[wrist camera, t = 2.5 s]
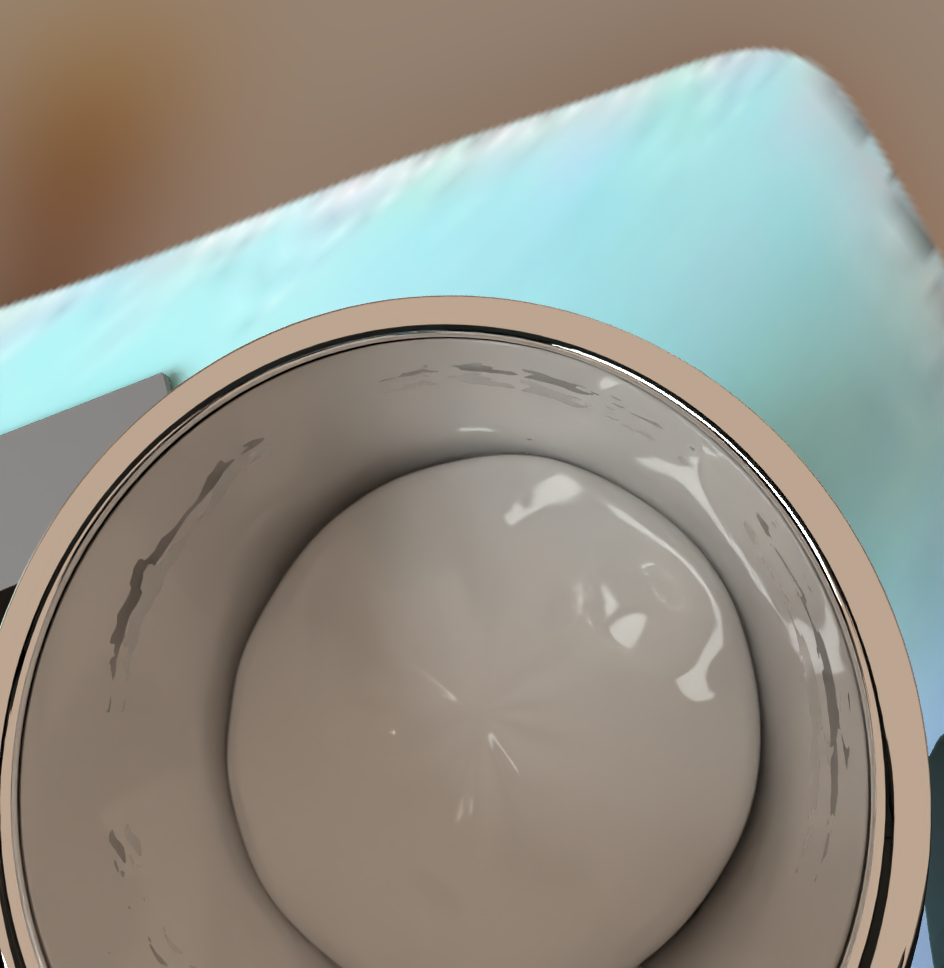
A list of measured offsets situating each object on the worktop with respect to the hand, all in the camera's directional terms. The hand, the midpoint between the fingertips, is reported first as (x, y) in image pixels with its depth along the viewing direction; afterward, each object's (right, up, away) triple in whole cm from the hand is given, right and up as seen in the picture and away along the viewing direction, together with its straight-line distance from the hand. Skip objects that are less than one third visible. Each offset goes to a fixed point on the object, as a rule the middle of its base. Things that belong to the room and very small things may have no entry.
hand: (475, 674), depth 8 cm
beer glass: (+1, -3, +12) cm, 12 cm away
